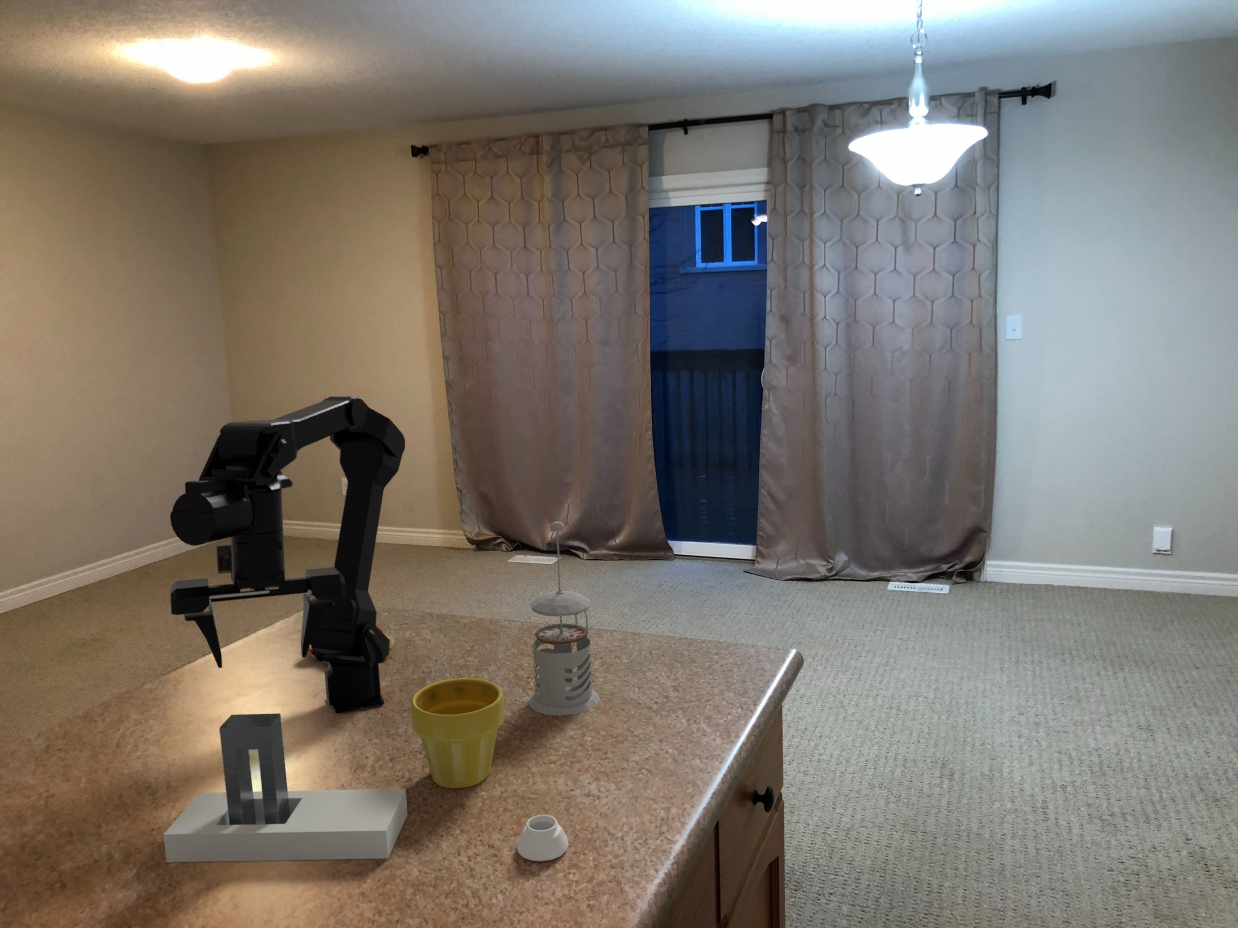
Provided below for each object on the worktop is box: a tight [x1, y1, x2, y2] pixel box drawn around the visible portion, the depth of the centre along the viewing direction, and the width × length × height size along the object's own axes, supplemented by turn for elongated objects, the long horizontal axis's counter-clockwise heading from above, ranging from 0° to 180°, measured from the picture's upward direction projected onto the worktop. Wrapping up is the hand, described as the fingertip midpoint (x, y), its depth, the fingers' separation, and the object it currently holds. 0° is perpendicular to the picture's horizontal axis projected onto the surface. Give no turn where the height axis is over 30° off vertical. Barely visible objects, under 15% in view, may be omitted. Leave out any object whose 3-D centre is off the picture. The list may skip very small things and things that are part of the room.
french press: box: [527, 521, 601, 717], centre depth 127 cm, size 10×12×25 cm
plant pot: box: [410, 677, 505, 789], centre depth 108 cm, size 10×10×10 cm
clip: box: [218, 712, 290, 825], centre depth 96 cm, size 3×5×12 cm, turn 90°
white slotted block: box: [163, 788, 408, 863], centre depth 97 cm, size 8×22×3 cm, turn 89°
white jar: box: [516, 814, 569, 862], centre depth 94 cm, size 5×3×5 cm
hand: (262, 661), depth 111 cm, fingers open, 9 cm apart
